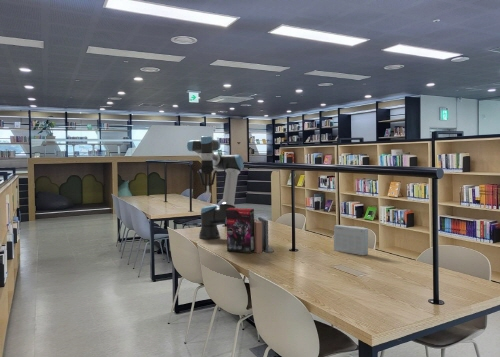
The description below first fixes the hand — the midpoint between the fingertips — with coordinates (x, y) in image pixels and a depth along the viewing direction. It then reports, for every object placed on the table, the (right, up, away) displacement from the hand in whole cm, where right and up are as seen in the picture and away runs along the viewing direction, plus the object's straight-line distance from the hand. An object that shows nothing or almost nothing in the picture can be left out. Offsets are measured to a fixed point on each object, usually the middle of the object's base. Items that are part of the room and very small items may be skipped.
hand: (207, 195), depth 261 cm
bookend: (+38, -34, -6) cm, 52 cm away
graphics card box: (+22, -35, -10) cm, 42 cm away
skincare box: (+90, -34, -16) cm, 98 cm away
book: (+32, -35, -8) cm, 48 cm away
